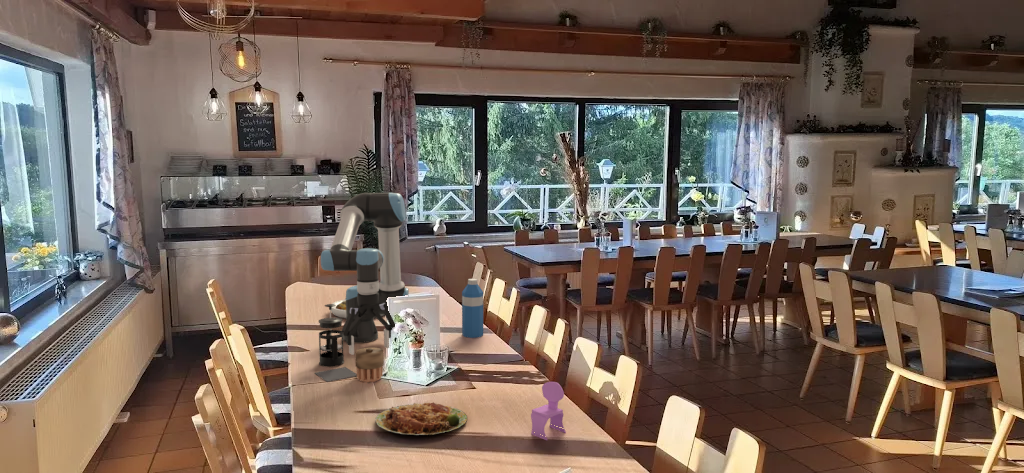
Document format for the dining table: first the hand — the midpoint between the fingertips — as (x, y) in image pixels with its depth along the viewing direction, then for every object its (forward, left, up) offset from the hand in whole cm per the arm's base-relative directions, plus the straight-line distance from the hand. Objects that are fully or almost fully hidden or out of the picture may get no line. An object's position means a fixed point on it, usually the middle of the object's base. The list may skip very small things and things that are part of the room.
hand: (369, 350), depth 260 cm
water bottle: (-29, +63, -10) cm, 70 cm away
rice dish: (+47, -5, -11) cm, 49 cm away
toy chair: (+76, +21, -11) cm, 80 cm away
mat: (-11, -8, -10) cm, 17 cm away
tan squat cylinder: (0, 0, -5) cm, 5 cm away
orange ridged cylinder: (0, 0, -10) cm, 10 cm away
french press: (-25, -4, -10) cm, 27 cm away
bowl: (-95, +40, -11) cm, 104 cm away
